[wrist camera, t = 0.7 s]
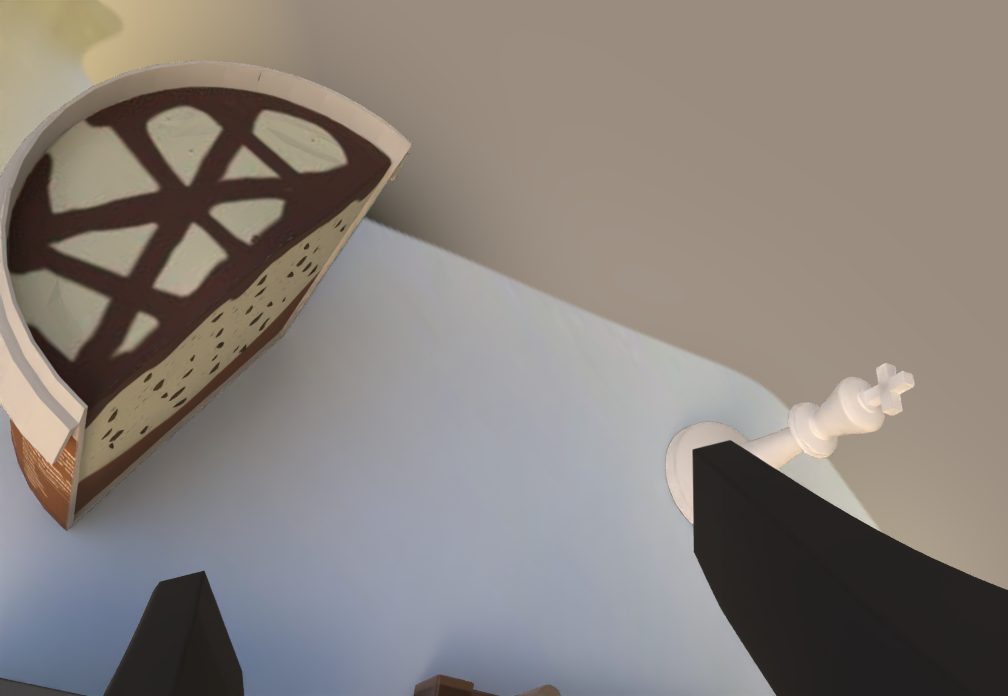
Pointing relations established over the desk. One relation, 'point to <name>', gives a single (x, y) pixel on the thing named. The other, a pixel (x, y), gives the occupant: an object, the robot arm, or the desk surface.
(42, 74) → the desk surface
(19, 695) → the box
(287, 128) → the food container
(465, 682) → the dish rack
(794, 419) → the chess piece
